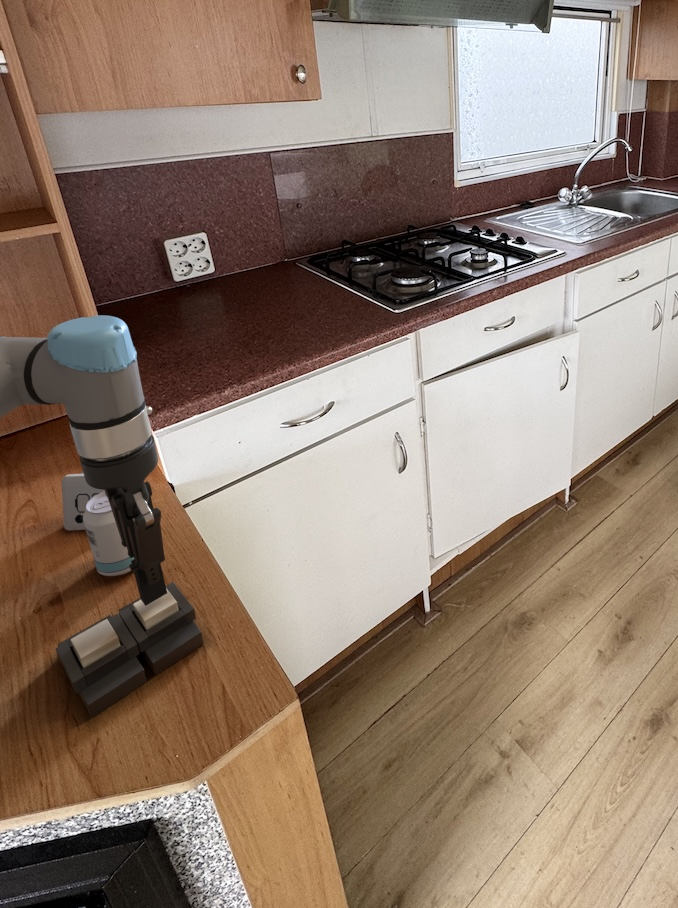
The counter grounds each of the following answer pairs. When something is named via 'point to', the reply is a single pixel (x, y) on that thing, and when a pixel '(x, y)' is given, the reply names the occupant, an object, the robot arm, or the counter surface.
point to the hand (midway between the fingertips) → (154, 596)
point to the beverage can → (105, 538)
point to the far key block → (165, 633)
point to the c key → (95, 643)
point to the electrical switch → (76, 500)
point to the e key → (155, 610)
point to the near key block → (104, 670)
